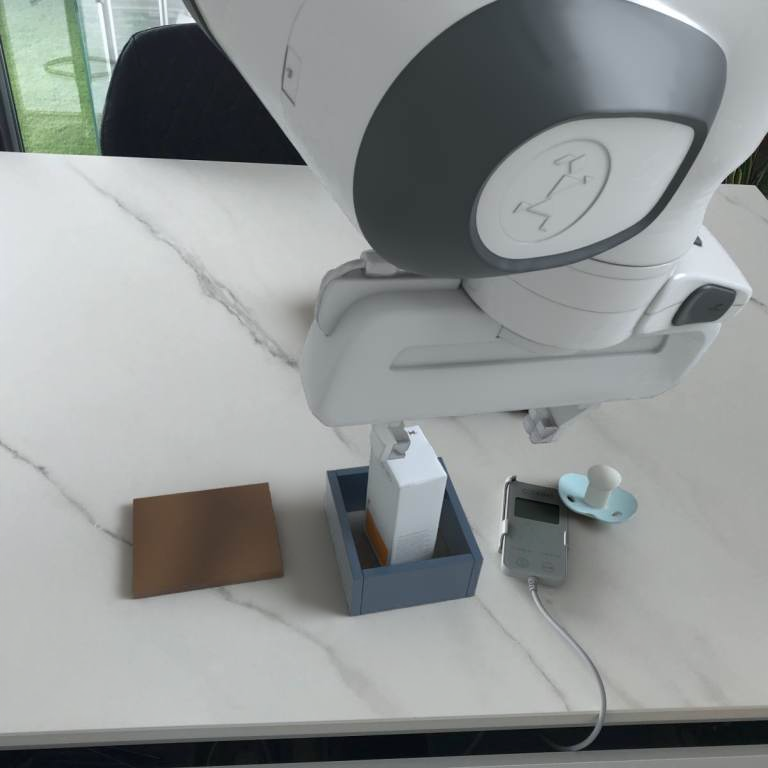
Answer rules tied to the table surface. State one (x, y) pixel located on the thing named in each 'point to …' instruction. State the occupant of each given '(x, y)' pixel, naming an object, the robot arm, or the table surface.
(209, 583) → the coaster
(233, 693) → the table surface
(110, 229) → the table surface
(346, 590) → the holder
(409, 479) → the cosmetic box
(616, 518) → the pacifier
